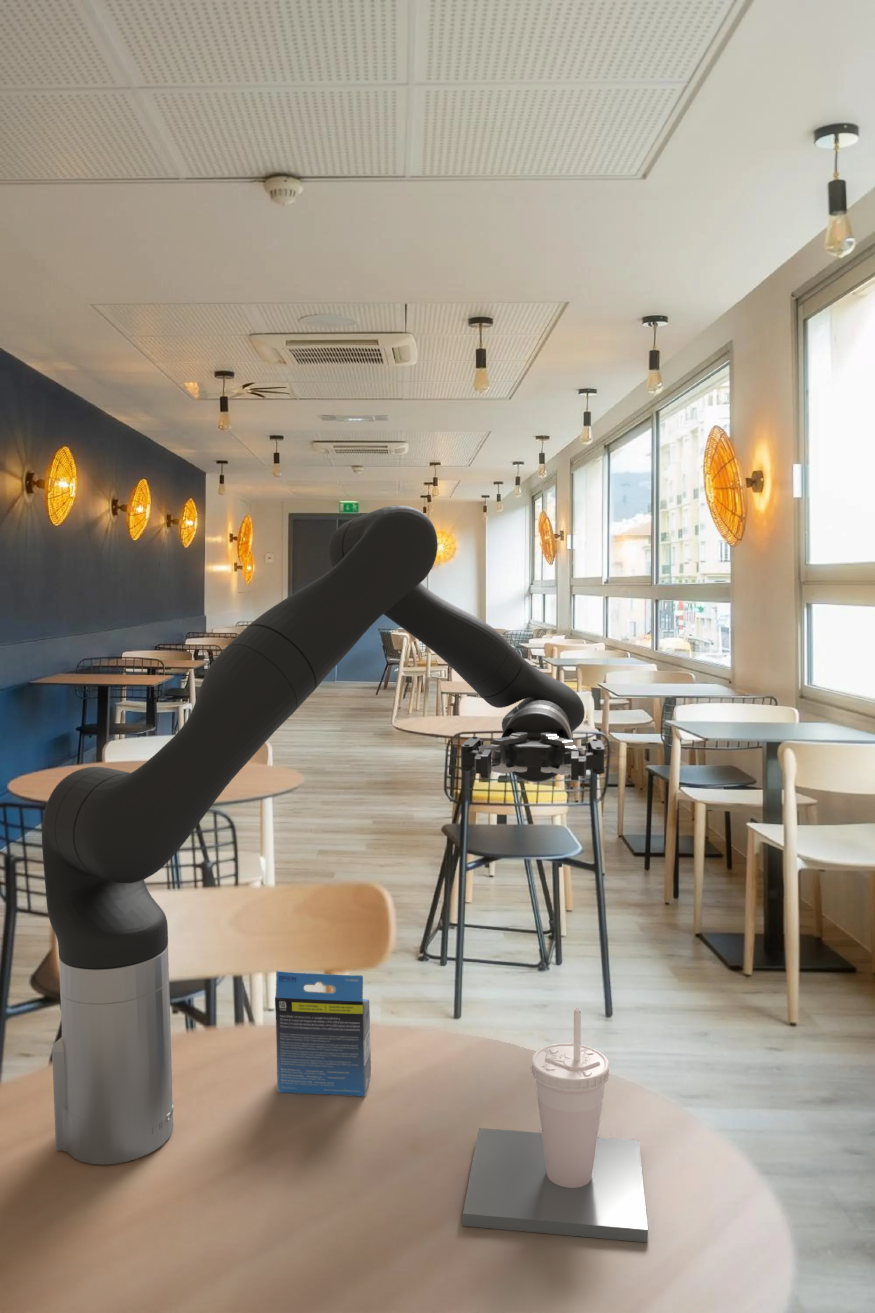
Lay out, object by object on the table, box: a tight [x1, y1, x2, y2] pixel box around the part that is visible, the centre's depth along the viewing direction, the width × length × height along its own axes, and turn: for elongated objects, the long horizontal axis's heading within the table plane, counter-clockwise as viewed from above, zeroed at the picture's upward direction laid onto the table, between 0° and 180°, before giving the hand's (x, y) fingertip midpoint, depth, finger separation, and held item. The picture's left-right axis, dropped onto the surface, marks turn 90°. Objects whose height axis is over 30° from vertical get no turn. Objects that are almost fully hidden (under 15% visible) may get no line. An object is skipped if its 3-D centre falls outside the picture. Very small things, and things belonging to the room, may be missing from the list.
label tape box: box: [274, 970, 372, 1097], centre depth 97 cm, size 9×4×12 cm, turn 84°
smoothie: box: [530, 1007, 611, 1188], centre depth 80 cm, size 6×6×14 cm
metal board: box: [462, 1127, 649, 1243], centre depth 81 cm, size 14×12×1 cm
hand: (529, 768), depth 93 cm, fingers open, 8 cm apart
